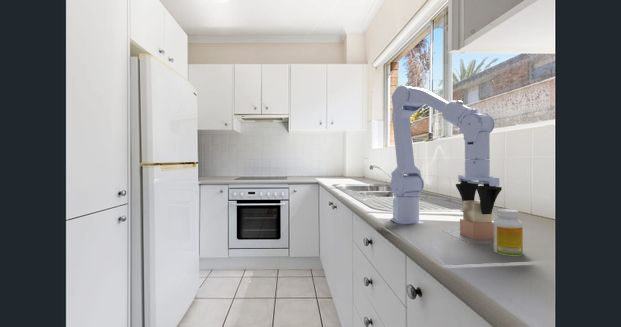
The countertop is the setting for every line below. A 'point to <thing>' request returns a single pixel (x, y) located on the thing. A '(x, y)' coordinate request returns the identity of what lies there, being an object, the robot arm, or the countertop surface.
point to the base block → (477, 229)
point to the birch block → (475, 212)
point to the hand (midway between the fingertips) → (477, 211)
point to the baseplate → (472, 241)
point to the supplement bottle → (508, 233)
